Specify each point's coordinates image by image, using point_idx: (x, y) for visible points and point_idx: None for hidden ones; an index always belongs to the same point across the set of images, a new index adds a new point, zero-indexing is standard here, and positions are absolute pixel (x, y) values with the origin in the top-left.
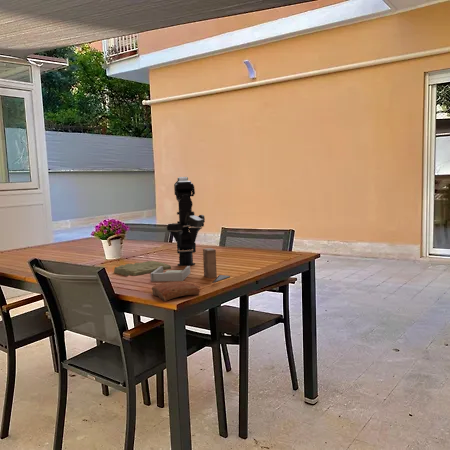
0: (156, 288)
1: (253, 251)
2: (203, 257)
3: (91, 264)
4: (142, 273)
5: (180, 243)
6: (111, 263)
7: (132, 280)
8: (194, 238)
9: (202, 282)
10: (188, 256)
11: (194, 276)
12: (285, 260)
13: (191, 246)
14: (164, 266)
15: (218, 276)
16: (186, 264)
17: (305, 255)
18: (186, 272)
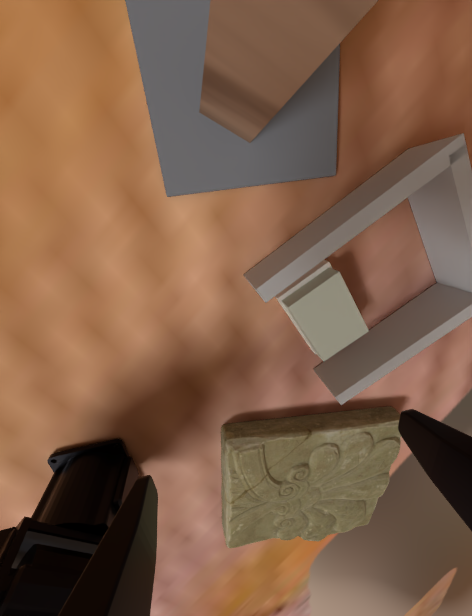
0: None
1: None
2: (308, 71)
3: (304, 608)
4: (370, 416)
5: (449, 430)
6: (266, 600)
7: (429, 377)
8: (127, 562)
9: (355, 36)
10: (82, 498)
11: (258, 224)
12: None
13: (35, 568)
14: (264, 440)
15: (187, 31)
16: (112, 456)
17: None
18: (345, 213)
